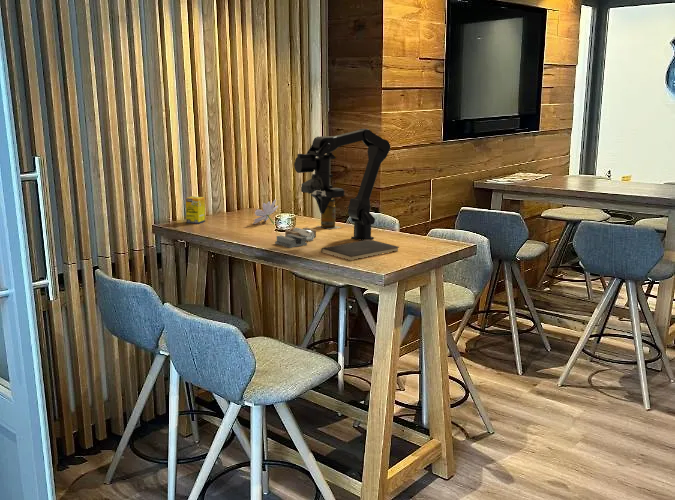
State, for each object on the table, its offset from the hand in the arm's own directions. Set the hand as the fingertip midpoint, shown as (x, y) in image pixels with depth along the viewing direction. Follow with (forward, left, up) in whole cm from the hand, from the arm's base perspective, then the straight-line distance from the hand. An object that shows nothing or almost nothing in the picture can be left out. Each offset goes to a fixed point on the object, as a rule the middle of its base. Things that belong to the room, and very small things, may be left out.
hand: (322, 213), depth 252 cm
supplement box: (+66, +16, -12) cm, 69 cm away
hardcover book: (-19, -2, -12) cm, 23 cm away
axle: (+11, 0, -11) cm, 15 cm away
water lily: (+47, -7, -12) cm, 49 cm away
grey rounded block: (+13, 0, -11) cm, 17 cm away
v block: (+6, +10, -11) cm, 16 cm away
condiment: (+23, -23, -12) cm, 35 cm away
